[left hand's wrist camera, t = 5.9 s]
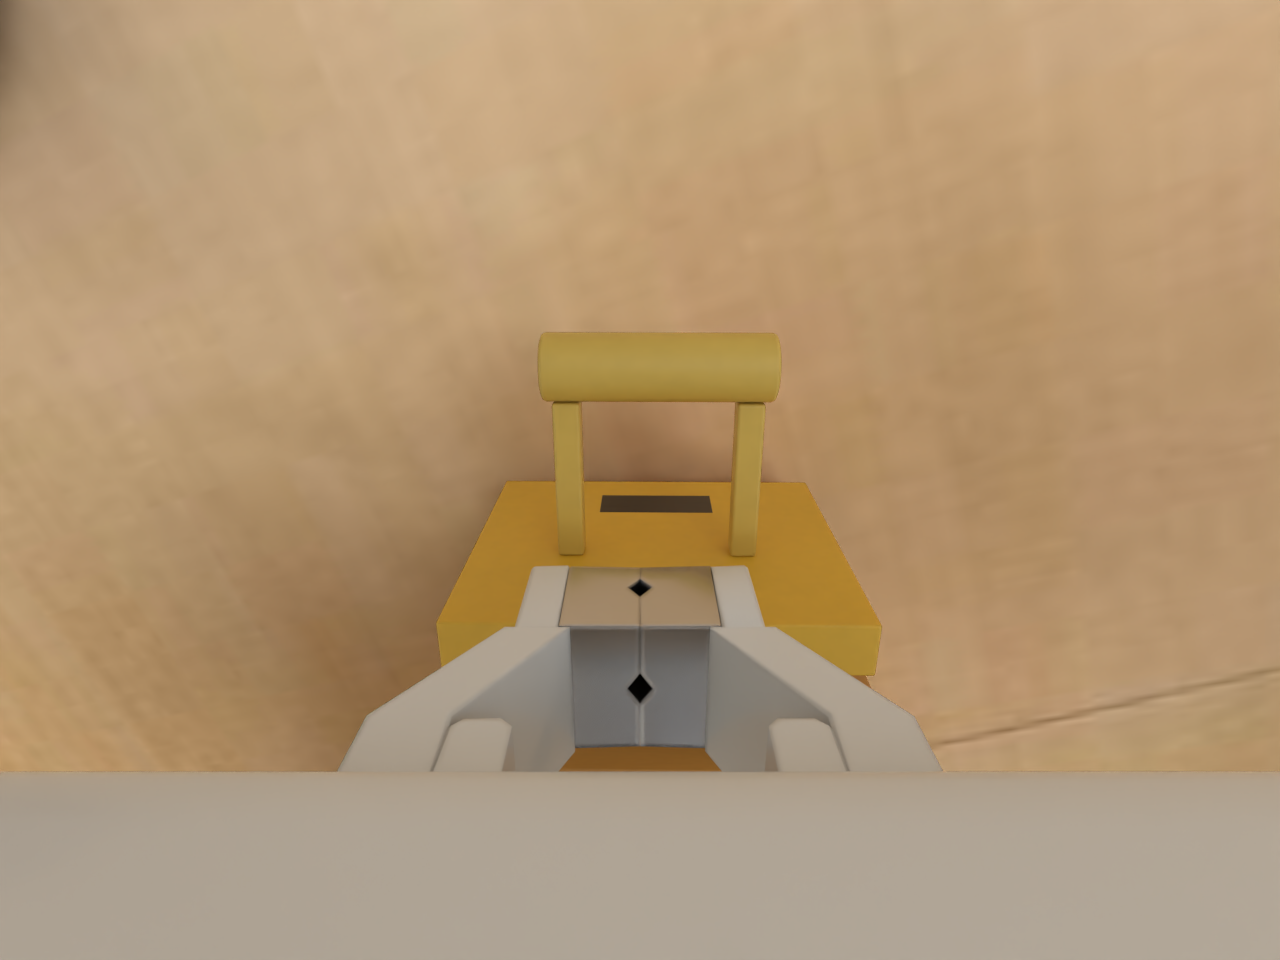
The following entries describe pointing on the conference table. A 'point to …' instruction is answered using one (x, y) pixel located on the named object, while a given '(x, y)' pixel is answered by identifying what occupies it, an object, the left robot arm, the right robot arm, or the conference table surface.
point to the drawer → (665, 500)
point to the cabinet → (646, 758)
